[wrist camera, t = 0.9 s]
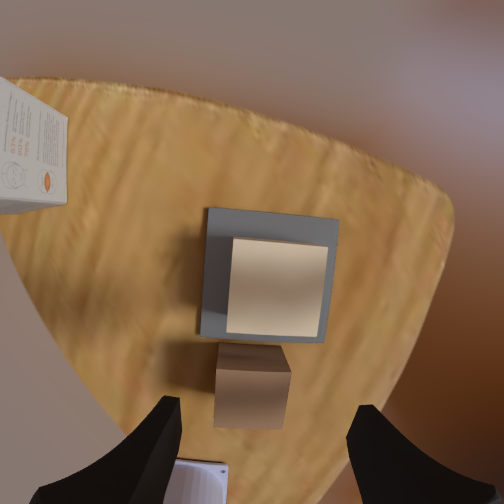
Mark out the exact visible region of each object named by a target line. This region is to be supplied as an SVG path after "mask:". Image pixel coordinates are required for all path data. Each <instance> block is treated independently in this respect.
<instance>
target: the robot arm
mask: <svg viewBox="0 0 504 504" xmlns="http://www.w3.org/2000/svg"><path fill="white" fill-rule="evenodd" d="M181 434H182V423H181V410H180V398H178V397H171V396H163V397H162V398H161V399H160V401H159V402H158V403H157V405H156V406H155V407H154V408H153V410H152V411H151V412H150V413H149V414H148V415H147V417H146V418H145V419H144V420H143V421H142V422H141V423H140V424H139V425H138V426H137V428H136V429H135V430H134V431H133V432H132V433H131V434H129V435H128V436H127V437H126V438H125V439H124V440H123V441H122V442H121V443H120V444H119V445H117V446H116V447H115V448H114V449H113V450H111V451H110V452H109V453H107V454H106V455H105V456H103V457H102V458H100V459H99V460H97V461H96V462H94V463H93V464H91V465H90V466H88V467H86V468H84V469H82V470H80V471H79V472H76V473H74V474H72V475H70V476H68V477H66V478H64V479H61V480H59V481H56V482H54V483H51V484H48V485H45V486H42V487H39V488H38V490H37V491H36V492H35V494H34V495H33V497H32V499H31V501H30V503H29V504H226V493H227V480H228V465H227V464H224V463H210V462H199V461H190V460H181V459H176V458H177V455H178V451H179V446H180V440H181ZM346 440H347V447H348V453H349V458H350V461H351V465H352V468H353V471H354V474H355V478H356V481H357V484H358V487H359V491H360V494H361V497H362V502H363V504H499V503H500V502H501V497H500V495H499V493H498V492H497V490H496V488H495V486H493V485H490V484H486V483H483V482H479V481H476V480H473V479H470V478H468V477H465V476H463V475H461V474H459V473H456V472H454V471H452V470H450V469H448V468H447V467H445V466H443V465H441V464H440V463H438V462H437V461H435V460H434V459H432V458H431V457H429V456H428V455H426V454H425V453H424V452H422V451H421V450H420V449H418V448H417V447H416V446H415V445H414V444H413V443H411V442H410V441H409V440H408V439H407V438H406V437H405V436H404V435H403V434H401V433H400V432H399V431H398V430H397V429H396V428H395V427H394V426H393V425H392V424H391V423H390V422H389V421H388V420H387V419H386V418H385V417H384V416H383V415H382V414H381V413H380V411H379V410H378V409H377V408H376V407H375V406H374V405H359V407H358V410H357V412H356V415H355V417H354V420H353V422H352V424H351V427H350V429H349V431H348V434H347V436H346ZM222 470H224V471H222Z"/></svg>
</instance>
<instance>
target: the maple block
mask: <svg viewBox="0 0 504 504" xmlns="http://www.w3.org/2000/svg"><path fill="white" fill-rule="evenodd" d="M327 253H328V247H325V246H321V245H317V244H312V243H302V242H290V241H279V240H268V239H256V238H245V237H233V249H232V261H231V274H230V286H229V299H228V313H227V329H226V332H229V333H243V334H259V335H278V336H307V337H317V332H318V325H319V318H320V311H321V304H322V296H323V288H324V280H325V271H326V263H327Z"/></svg>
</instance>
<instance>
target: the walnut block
mask: <svg viewBox="0 0 504 504" xmlns="http://www.w3.org/2000/svg"><path fill="white" fill-rule="evenodd" d="M291 373H292V372H291V370H290V367H289V365H288V362H287V360H286V358H285V355H284V353H283V350H282V348H281V346H272V345H252V344H236V343H223V342H219V348H218V357H217V367H216V384H215V405H214V427H220V428H236V429H282V427H283V422H284V416H285V410H286V404H287V398H288V392H289V386H290V379H291Z"/></svg>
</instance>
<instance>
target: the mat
mask: <svg viewBox="0 0 504 504" xmlns="http://www.w3.org/2000/svg"><path fill="white" fill-rule="evenodd" d="M338 229H339V220H334V219H325V218H316V217H307V216H298V215H288V214H278V213H268V212H257V211H246V210H234V209H222V208H210V207H209V213H208V224H207V236H206V249H205V263H204V277H203V293H202V311H201V331H200V337H208V338H220V339H233V340H248V341H266V342H290V343H324V340H325V334H326V328H327V321H328V315H329V308H330V300H331V293H332V285H333V277H334V269H335V260H336V250H337V240H338ZM233 237H245V238H256V239H268V240H279V241H290V242H302V243H312V244H317V245H321V246H325V247H328V253H327V263H326V271H325V280H324V288H323V296H322V304H321V311H320V318H319V325H318V332H317V337H307V336H278V335H259V334H243V333H229V332H226V329H227V313H228V299H229V286H230V274H231V261H232V249H233Z"/></svg>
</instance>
